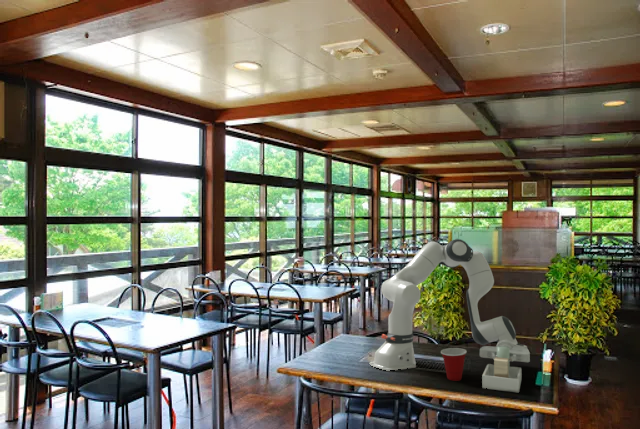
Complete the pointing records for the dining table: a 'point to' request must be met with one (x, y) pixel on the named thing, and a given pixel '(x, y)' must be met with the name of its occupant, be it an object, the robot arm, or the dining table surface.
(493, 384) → the tub
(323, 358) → the dining table surface
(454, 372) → the plastic cup
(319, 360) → the dining table surface
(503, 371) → the birch block
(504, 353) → the ceramic shaker
